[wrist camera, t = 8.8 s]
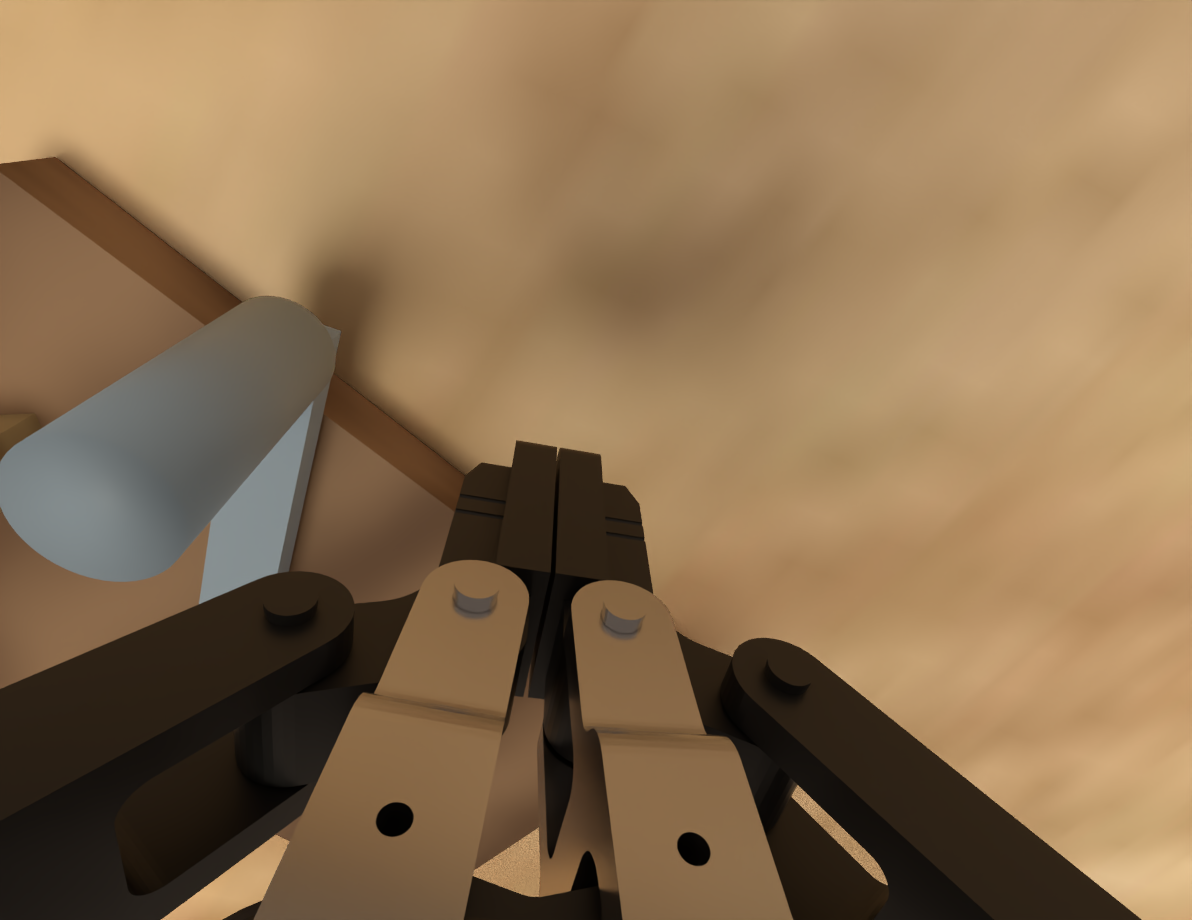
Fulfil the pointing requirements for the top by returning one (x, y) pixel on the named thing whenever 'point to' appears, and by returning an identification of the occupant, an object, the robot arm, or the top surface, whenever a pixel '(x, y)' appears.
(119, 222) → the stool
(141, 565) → the cylinder
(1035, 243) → the top surface
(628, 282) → the top surface
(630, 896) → the robot arm
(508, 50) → the top surface
